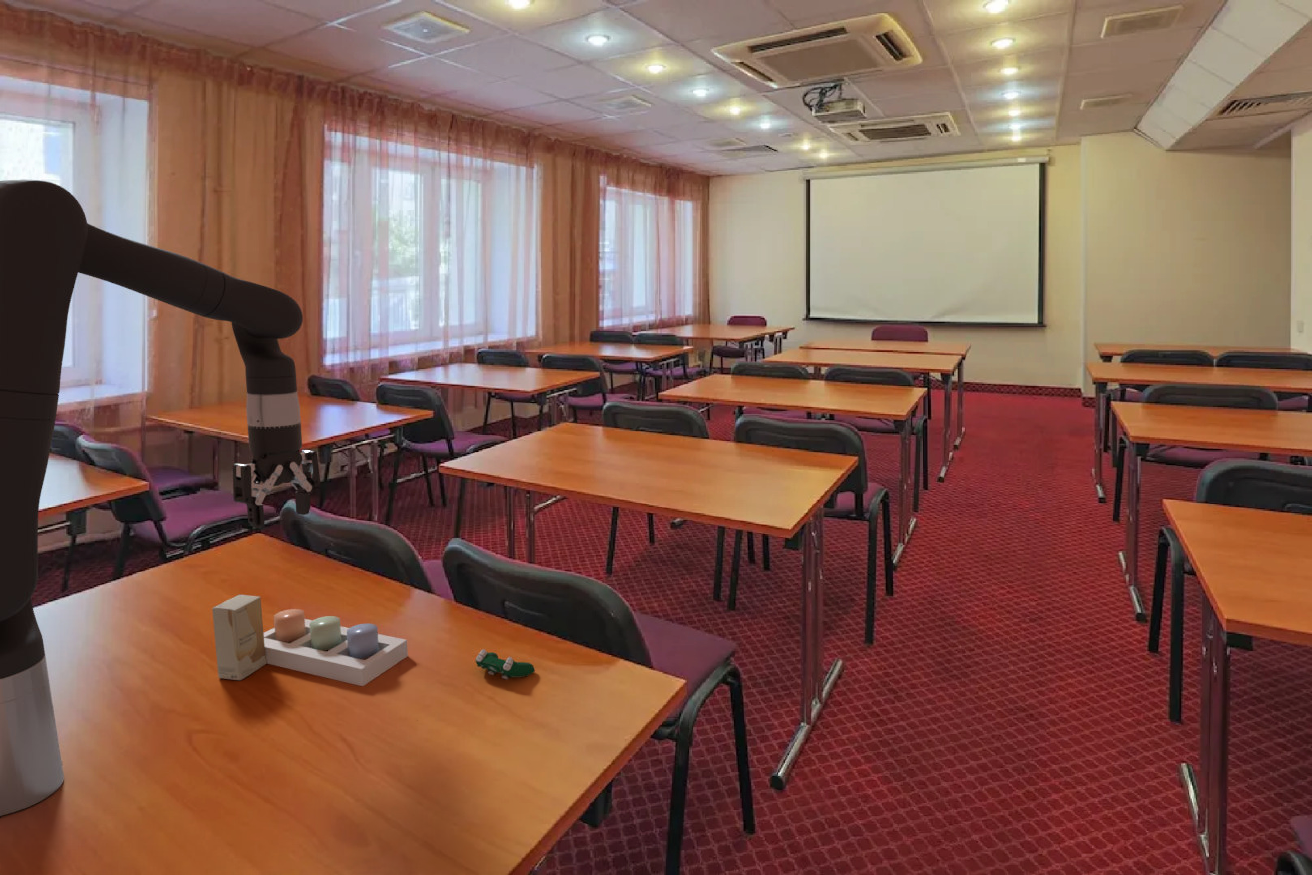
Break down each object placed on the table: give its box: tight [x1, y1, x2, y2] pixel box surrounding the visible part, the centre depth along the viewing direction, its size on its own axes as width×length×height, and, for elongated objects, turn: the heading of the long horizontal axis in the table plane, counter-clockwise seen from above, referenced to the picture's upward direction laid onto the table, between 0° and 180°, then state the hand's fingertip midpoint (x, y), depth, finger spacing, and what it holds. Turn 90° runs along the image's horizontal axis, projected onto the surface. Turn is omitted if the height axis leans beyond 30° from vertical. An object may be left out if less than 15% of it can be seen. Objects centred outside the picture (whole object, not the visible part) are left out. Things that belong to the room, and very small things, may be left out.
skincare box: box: [211, 594, 267, 681], centre depth 123 cm, size 6×4×12 cm
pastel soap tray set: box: [263, 618, 409, 687], centre depth 129 cm, size 11×25×3 cm, turn 69°
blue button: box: [347, 623, 379, 660], centre depth 126 cm, size 5×5×4 cm
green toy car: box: [475, 648, 536, 680], centre depth 124 cm, size 9×4×6 cm
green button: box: [309, 615, 342, 651], centre depth 128 cm, size 5×5×4 cm
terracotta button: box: [273, 608, 306, 643], centre depth 131 cm, size 5×5×4 cm
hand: (281, 520), depth 120 cm, fingers open, 8 cm apart
